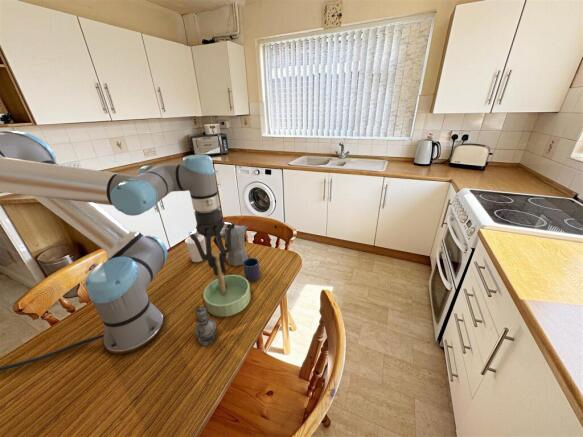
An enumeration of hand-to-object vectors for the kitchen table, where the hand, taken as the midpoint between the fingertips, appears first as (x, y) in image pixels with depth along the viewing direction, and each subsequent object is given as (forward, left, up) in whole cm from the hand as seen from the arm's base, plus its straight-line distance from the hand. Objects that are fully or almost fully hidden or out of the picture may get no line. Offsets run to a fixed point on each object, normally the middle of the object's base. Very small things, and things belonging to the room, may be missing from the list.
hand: (219, 272), depth 81 cm
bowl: (+1, -3, -10) cm, 11 cm away
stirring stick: (0, 0, -9) cm, 9 cm away
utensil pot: (+13, +4, -10) cm, 17 cm away
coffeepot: (+11, +18, -10) cm, 23 cm away
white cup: (-2, +30, -10) cm, 31 cm away
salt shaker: (-9, -14, -10) cm, 20 cm away
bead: (+1, +2, -8) cm, 9 cm away
